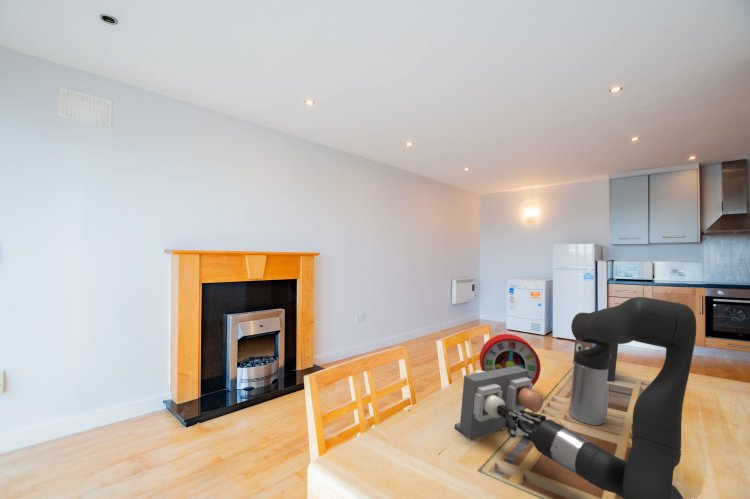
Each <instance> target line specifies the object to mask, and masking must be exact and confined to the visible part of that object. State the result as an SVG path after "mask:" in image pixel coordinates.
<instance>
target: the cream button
mask: <svg viewBox="0 0 750 499" xmlns="http://www.w3.org/2000/svg"><path fill="white" fill-rule="evenodd" d="M500 405H504V406H505V402H504V400H502V399H501V398H499V397H497V396H495V395H493V394H488V395H484V405H483V411H485V412H486V413H488V414H490V415H491V416H493V417H494V418H499V417H501V416H500V415H499V414H498V413H497V407H498V406H500Z"/></svg>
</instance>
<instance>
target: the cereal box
mask: <svg viewBox="0 0 750 499" xmlns="http://www.w3.org/2000/svg"><path fill="white" fill-rule="evenodd" d="M574 338H575V337H574ZM595 345H596V344H594V343H587V342H582V341H579V340H577V339H576V338H575V339H574V349H573V359H572V360H573V361H572V365H573V364H574V357H575V353H576V352H578V351H582V350H587V349H590V348H592V347H594V346H595ZM618 350H619V344H612V349H611V357H610V362H609V368H608V377H607V382H615V377H616V371H617V360H618Z"/></svg>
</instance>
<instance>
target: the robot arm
mask: <svg viewBox="0 0 750 499" xmlns="http://www.w3.org/2000/svg"><path fill="white" fill-rule="evenodd" d="M571 333H572V335H573V337H574V338H576V339H577V340H579V341H582V342H587V343H594V344H596V345H595V346H594V347H592V348H590V349H587V350H582V351H578V352H576V353H575V357H574V356H573V358H574V366H573V368H572V370H573V371H572V377H571V378H572V379H571V388H570V397H569V398H570V400H569V405H568V406H569V407H568V408H569V409H568V414H569V415H570V416H571V417H572V418H574V419H575V420H577V421H578V422H580V423H584V424H587V425H591V426H592V425H593V426H599V425H600V424H601V425H603V424H607V419H608V418H607V417H608V408H609V398H610V393H609V392H608V391H607V385H608V381H607V377H608V368H609V362H610V357H611V349H612V344H618V345H625V344H629V343H631V342H633V341H634V342H636V343H641V344H646V345H651V346H654V347H655V346H656V347H661V348H665V360H664V363H663V366H662V368H661V369H660V370H659V372H658V374H657V375H656V376H655V378H654V379H653V380H652V381H651V382H650V383H649V385H648V386H646V388H645V389H644V390H643V391H642V393H640V395H639V396H638V398H637V400H636V401H635V403H634V406H633V411H632V425H631V426H632V427H631V447H630V450H629V453H628V456H627V460H624V459H621V458H620V457H618V456H616V455H614V454H613V453H611V452H610V451H607V450H606V449H604V448H602V447H600V446H599V445H597V444H595V443H593V442H591V441H590V440H588V439H586V438H585V437H583V436H582V435H581V434H579V433H576V432H575V431H573V430H571V429H569V428H567V427H565V426H564V425H561V424H559V423H558V422H556V421H554V420H552V419H550V418H549V419H548V418H547V416H546V415H543V414H539V413H535V412H532V411H531V412H529V411H526V410H525V411H522V410H521V411H520V412H518V411H512V410H511V409H509V408H507V407H505V406H504V405H500V406H498V407H497V413H498V414H499V415H500V416H502V417H503V418H505V419H506V423H505V425H506V430H507V432H508V434H509V436H510V437H511V438H514V439H515V438H517V435H518V436H521V437H523V439H525V440H528V441H530V442H532V443H533V444H534V447H535V450H536V451H538V452H539V453H540V454H542V455H544V456H545V457H546V458H548V459H550V460H551V461H553V462H555V463H556V464H557V465H559V466H561V467H563V468H564V469H565V470H568V471H570V472H571V473H573V474H575V475H578V476H579V477H581V478H582V479H584V480H586V481H587V482H589V483H590V484H592V485H593V486H595V487H596V488H599V489H601V490H602V491H604V492H605V491H606V492H609V493H613V494H615V495H617V496H618V497H621V498H622V499H684V497H683V495H682V494H681V492H680V490H678V488H677V487H676V486H675V485H673V482H674V480H673V479H674V470H675V468H676V467H678V465H679V464H680V463H681V462H680V461H681V458H682V421H683V420H682V418H683V408H684V399H685V395H686V390H687V385H688V381H689V376H690V370H691V366H692V361H693V355H694V349H695V346H696V345H695V344H696V337H697V319H696V315H695V313H694V311H693V309H692V308H691V307H690V306H689V305H687V304H684V303H680V302H675V301H668V300H663V299H657V298H652V297H651V298H650V297H646V296H635V297H631V298H629V299H627V300H625V301H623V302H622V303H620V304H618V305H614V306H610V307H606V308H605V307H604V308H602V309H600V310H596V311H591V312H578V313H577V314H575V315H574V317H573V319H572V322H571ZM602 423H603V424H602ZM601 425H600V426H601Z"/></svg>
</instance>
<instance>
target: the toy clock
mask: <svg viewBox="0 0 750 499" xmlns="http://www.w3.org/2000/svg"><path fill="white" fill-rule="evenodd" d="M479 365H480V369H481V371H485V372H486V371H491V370H497V369H502V368H507V367H513V366H519V367H521V368H523V369H526V370H528V378H529V379H531V384H533V385H532V387H533V386H535V384H536V383H537V382H538V380H539V378H540V375H541V367H542V366H541V365H542V364H541V361H540V358H539V355H538V354H537V352H536V351H535V350H534V348H533V347H532V346H531V344H529V343H528V342H527V341H526V340H525V339H524V338H522V337H520V336H518V335H515V334H511V333H502V334H498V335H495V336H493V337H491V338H490V339H488V340H487V341H486V342H485V343H484V344H483V345H482V347H481V351H480V352H479Z"/></svg>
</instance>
